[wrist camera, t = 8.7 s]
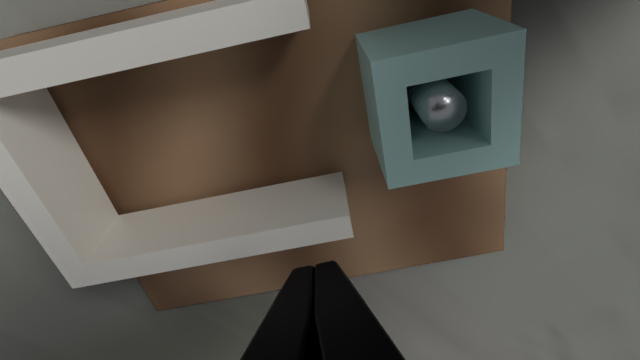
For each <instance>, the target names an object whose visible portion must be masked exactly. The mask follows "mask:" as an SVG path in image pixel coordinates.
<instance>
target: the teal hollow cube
mask: <svg viewBox="0 0 640 360" xmlns="http://www.w3.org/2000/svg"><path fill="white" fill-rule="evenodd" d="M526 30H527V29H526V28H523V27H521V26H518V25H515V24H513V23H510V22H507V21H505V20H502V19H499V18H497V17H494V16H491V15H489V14H486V13H483V12H481V11H478V10H476V9H473V8H472V9H467V10H463V11H458V12H454V13H449V14H445V15H440V16H436V17H431V18H427V19H422V20H417V21H413V22H408V23H404V24H399V25H395V26H390V27H386V28H381V29H377V30H372V31H367V32H363V33H358V34H355V38H356V45H357V51H358V57H359V64H360V70H361V77H362V83H363V90H364V96H365V103H366V109H367V116H368V122H369V129H370V135H371V140H372V143H373V146H374V149H375V152H376V155H377V158H378V161H379V163H380V166H381V169H382V172H383V175H384V178H385V181H386V184H387V187H388V190H389V189H394V188H400V187H405V186H410V185H415V184H421V183H426V182H431V181H436V180H442V179H447V178H452V177H458V176H463V175H468V174H473V173H479V172H484V171H489V170H494V169H500V168H505V167H510V166H516V165H519V162H520V143H521V124H522V105H523V87H524V68H525V49H526ZM446 78H450V83H451V84H452V85H453V86H454V87H455V88H456V89H457V90H458V91H459V92H460V93H461V94H462V95H463V96H464V97H465V99H466V102H467V112H466V115H465V117H464V119H463V120H462V122H461V123H460V124H459V125H458V126H457V127H455V128H454V129H452V130H449V131H446V132H435V131H432V130H430V129H429V128H427V127H426V126H425V124H424V123H423V121H422V120H421V118H420V117H419V115H418V114H417V112H416V111H415V109H413V110H409V108H408V98H407V88H406V87H408V86H413V85H418V84H422V83H427V82H432V81H437V80H442V79H446Z"/></svg>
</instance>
